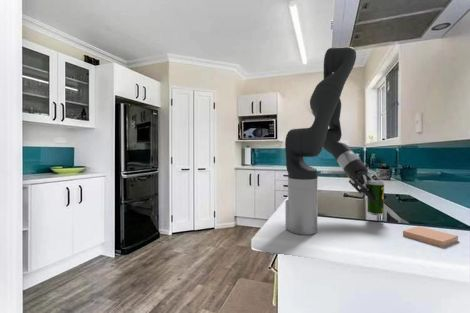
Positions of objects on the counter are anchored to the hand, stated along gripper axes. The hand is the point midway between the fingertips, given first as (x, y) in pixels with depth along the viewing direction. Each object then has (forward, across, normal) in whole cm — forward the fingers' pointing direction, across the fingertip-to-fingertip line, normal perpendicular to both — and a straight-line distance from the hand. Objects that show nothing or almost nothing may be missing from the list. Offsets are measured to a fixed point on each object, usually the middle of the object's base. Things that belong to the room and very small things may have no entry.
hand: (380, 199), depth 88 cm
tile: (+13, -3, -3) cm, 14 cm away
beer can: (+3, 0, +5) cm, 6 cm away
